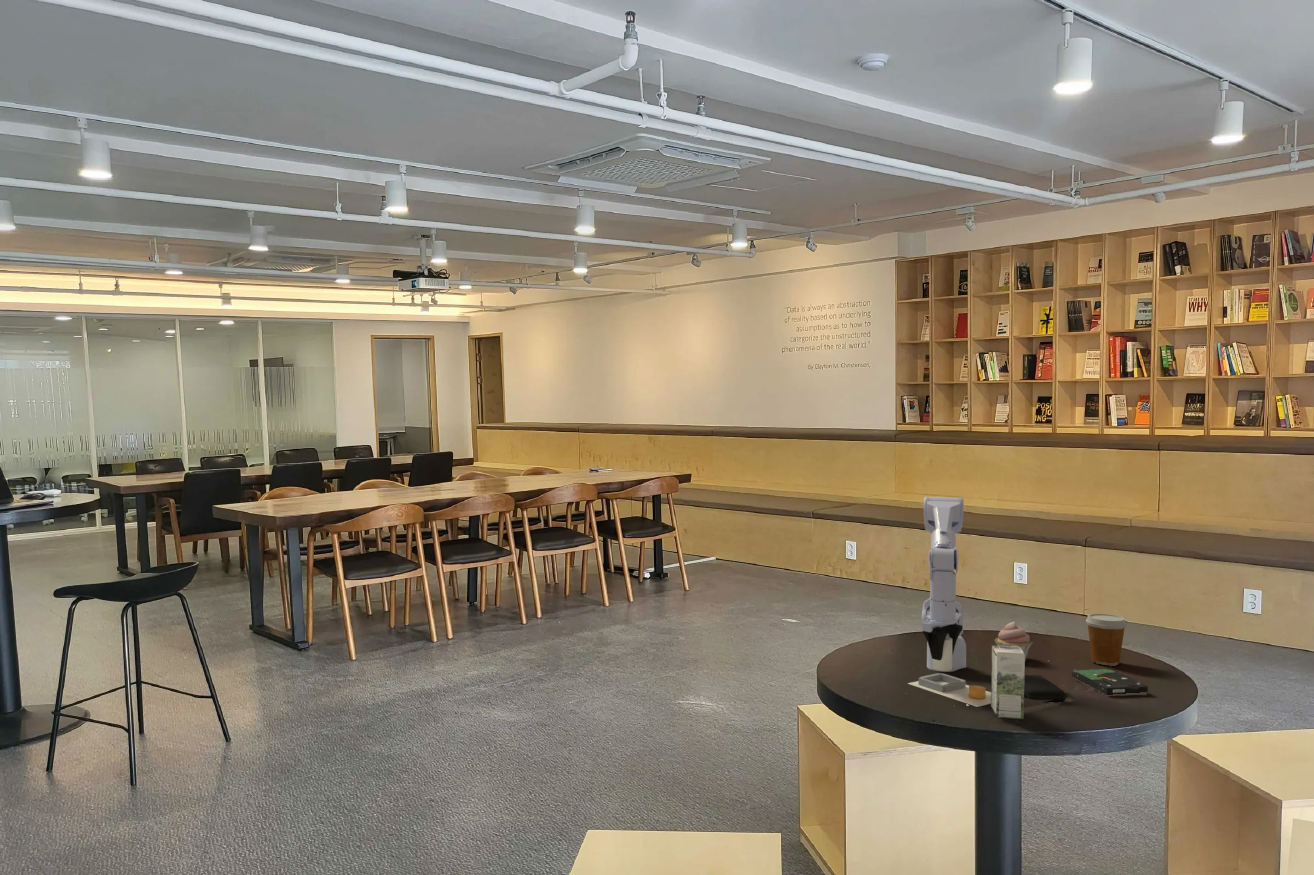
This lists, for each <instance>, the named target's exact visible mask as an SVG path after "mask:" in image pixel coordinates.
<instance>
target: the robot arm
mask: <svg viewBox="0 0 1314 875" xmlns="http://www.w3.org/2000/svg"><path fill="white" fill-rule="evenodd" d="M964 502H965V501H964V499H963V497H962V496H959V497H950V496H949V497H947V496H946V497H945V496H942V497H941V496H928V495H927V496H925V497H923V527H924V528H925V529H924V530H925V531H926V532H928V533H931V535H930V549H929V550H928V571H929V581H930V582H929V589H930V590H929V598H927V599H926V600H924V601H923V604H922V610H921V632H922V634H923V636H924V637H925V639H926V668H927V669H928V670H932V671H935V672H941V673H942V672H943V673H947V672H948V673H950V672H955V671H957V670H960V669H965V668H967V643H966V641H965V639H964V638H963V636H962V635H964V613H963V606H962V603H960V602H959V601H958V600H957V599H956V598H957V597H956V596H957V593H956V592H957V574H958V571H959V551H958V548H957V542H956V541H957V538H956V537H957V536H956V534H959V533H960V532H962V528H963V523H964V512H965V508H964ZM954 570H955V571H956V572H955V571H954ZM947 634H949V637H950V638H952V670H950V671H940V670H935V669H933V668H932V659H935V660H941V659H942V655H943V646H944V641H945V638H946V636H947Z"/></svg>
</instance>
